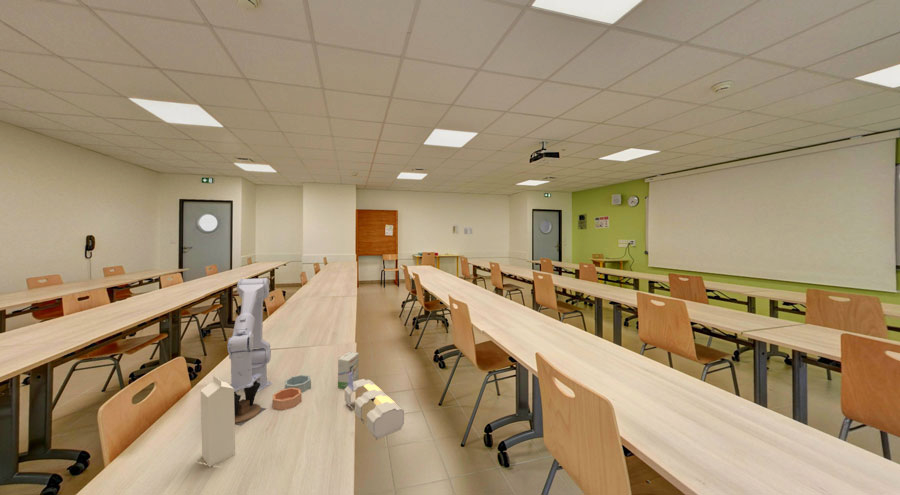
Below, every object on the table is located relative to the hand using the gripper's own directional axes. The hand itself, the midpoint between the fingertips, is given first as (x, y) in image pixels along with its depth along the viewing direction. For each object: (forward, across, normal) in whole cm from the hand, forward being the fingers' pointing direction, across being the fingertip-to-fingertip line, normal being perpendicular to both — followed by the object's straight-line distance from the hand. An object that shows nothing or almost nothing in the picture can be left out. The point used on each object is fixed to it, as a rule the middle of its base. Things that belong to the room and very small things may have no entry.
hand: (242, 409), depth 104 cm
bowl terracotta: (+2, +10, -9) cm, 14 cm away
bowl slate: (+2, +20, -5) cm, 21 cm away
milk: (+2, -17, -11) cm, 20 cm away
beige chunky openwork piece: (+2, +11, -42) cm, 44 cm away
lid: (+2, 0, 0) cm, 2 cm away
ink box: (+2, +29, -22) cm, 36 cm away
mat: (+2, 0, 0) cm, 2 cm away
